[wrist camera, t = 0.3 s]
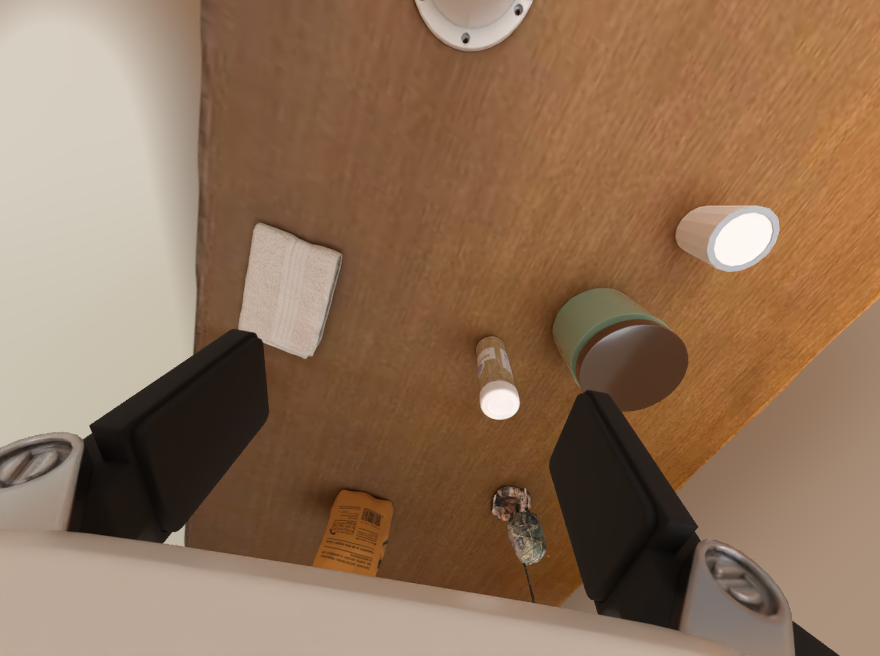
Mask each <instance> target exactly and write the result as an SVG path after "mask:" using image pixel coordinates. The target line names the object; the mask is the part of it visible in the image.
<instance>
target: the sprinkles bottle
mask: <svg viewBox="0 0 880 656" xmlns="http://www.w3.org/2000/svg"><path fill="white" fill-rule="evenodd" d="M476 353H477V357H478V360H477V362H478V374H479V380H480V390H481V392H480V406H481V409H482V411H483V412H484V414H485V415H487V416H488V417H490V418H493V419H498V420H501V419H507V418H509V417H511V416H513V415H514V414H515V413H516V412H517V410H518V409H519V405H520V402H519V396H518V392H517V390H516V388H515V386H514V382H513V376H512V372H511V368H510V364H509V360H508V356H507V354H506V346H505V344H504V342H503V341H502V340H501V339H499V338H497V337H486V338H484V339H482V340H481V341H480V342H479V343H478V345H477V347H476Z"/></svg>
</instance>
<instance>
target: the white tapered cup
mask: <svg viewBox="0 0 880 656" xmlns="http://www.w3.org/2000/svg"><path fill="white" fill-rule="evenodd" d="M779 230H780V227H779V221H778V217H777V216H776V215H775V214H774V213H773V212H772V211H771V209H768V208H765V207H761V206H703V207H698V208H696V209H694V210H692V211H690V212H689V213H688V214H687V215H686V216H685V217H684V218H683V219H682V220H681V221H680V223H679V225H678V227H677V229H676V236H675V238H676V241H677V245H678V246H679V247H680V248H681V249H682V250H684V251H686V252H687V253H689V254H691V255H693V256H695V257H697V258H698V259H700V260H702V261H704V262H706V263H708V264H709V265H711V266H713V267H715V268H717V269H720V270H723V271H727V272H732V271H740V270H744V269H746V268H748V267H750V266H753V265H755V264H756V263H758V262H759V261H760V260H761V259H763V258H764V257H765V256H766V255H767V254H768V253H769V252H770V250H771V249H772V247H773V246H774V244H775V243H776V241H777V237H778V234H779Z"/></svg>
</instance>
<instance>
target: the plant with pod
mask: <svg viewBox="0 0 880 656" xmlns="http://www.w3.org/2000/svg"><path fill="white" fill-rule="evenodd" d="M493 501H494V502H493V505H494V506H492V508H493V510H492V513H493V515H495V517H498V520H500V519H502V520H504V521H506V520H508V521H507V529H508V535H509V539H510V541H511V544H512V546H513V549H514V551H515V554H516V555H517V557H518V559H519V560H520V561H521V562H523V564H524V567H525V571H526V574H527V579H528V583H529V587H530V592H531V597H532V602H533V603H535V601H534V595H533V591H532V586H531V584H530V579H529V575H528V571H527V568H526V565H527V566H529V565H530V564H533V563H535V562H538V561H539V560H540V559H541V558H542V557H543V555H544V554H545V553H546V545H545V537H544V533H543V530H542V527H541V524H540V521H539V519H538V518H537V515H536V514H534V513H533V512H530V511H529V508H531V507H530V506H531V504H530V494H529V493H527V492H526V488H524V490H521V489H519V488H517V489H516V488H513V487H511V488H510V487H504V488H501V489H499V490H498V491H497V493H496V495H495V497H494V498H493ZM548 557H550V556H549V555H548ZM525 564H526V565H525ZM536 604H537V603H536Z"/></svg>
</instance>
